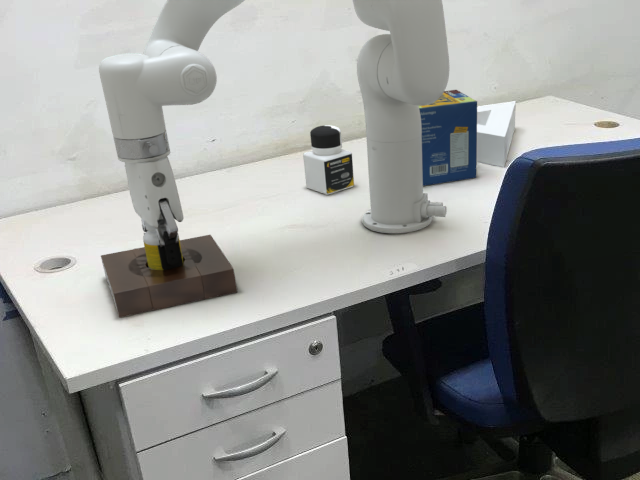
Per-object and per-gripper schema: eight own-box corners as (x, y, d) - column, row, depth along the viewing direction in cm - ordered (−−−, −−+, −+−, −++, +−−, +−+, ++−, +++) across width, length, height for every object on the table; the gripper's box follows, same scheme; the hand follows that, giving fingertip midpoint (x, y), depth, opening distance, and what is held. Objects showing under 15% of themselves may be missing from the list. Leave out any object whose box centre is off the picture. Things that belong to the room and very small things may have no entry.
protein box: (389, 174, 176) (386, 98, 168) (458, 164, 179) (458, 88, 171) (406, 189, 167) (403, 109, 159) (477, 178, 171) (478, 99, 163)
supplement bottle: (177, 285, 130) (166, 225, 125) (145, 283, 131) (132, 224, 126) (191, 270, 135) (180, 212, 130) (160, 269, 136) (148, 211, 131)
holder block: (214, 256, 143) (210, 234, 141) (237, 292, 130) (233, 268, 128) (106, 278, 137) (100, 255, 135) (119, 317, 125) (113, 293, 122)
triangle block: (396, 145, 194) (395, 117, 190) (464, 119, 210) (464, 93, 206) (504, 167, 176) (505, 136, 173) (569, 137, 192) (571, 109, 189)
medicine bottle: (327, 195, 166) (321, 134, 160) (305, 187, 171) (299, 128, 165) (354, 186, 170) (350, 126, 164) (333, 179, 175) (328, 120, 169)
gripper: (188, 153, 117) (209, 272, 127) (147, 129, 130) (169, 239, 139) (136, 164, 114) (161, 285, 124) (99, 138, 127) (125, 250, 136)
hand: (165, 259), depth 131 cm, fingers closed on supplement bottle, 5 cm apart
